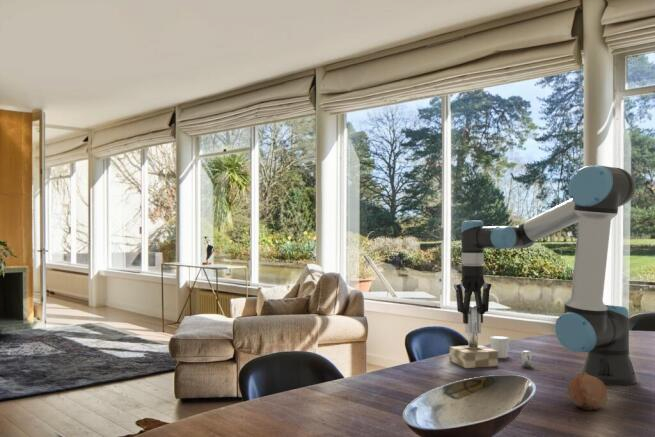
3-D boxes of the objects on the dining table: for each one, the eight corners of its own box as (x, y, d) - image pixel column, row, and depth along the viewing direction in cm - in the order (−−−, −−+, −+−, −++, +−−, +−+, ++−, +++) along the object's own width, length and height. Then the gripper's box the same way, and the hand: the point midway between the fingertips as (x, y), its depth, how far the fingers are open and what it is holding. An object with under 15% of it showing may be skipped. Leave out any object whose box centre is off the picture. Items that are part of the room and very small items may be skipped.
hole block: (497, 365, 210) (497, 351, 210) (465, 368, 207) (465, 353, 207) (480, 358, 221) (480, 344, 221) (449, 360, 218) (449, 346, 218)
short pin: (533, 366, 208) (533, 352, 208) (524, 367, 207) (524, 352, 207) (527, 364, 211) (527, 350, 211) (519, 365, 210) (519, 350, 210)
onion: (579, 415, 163) (574, 377, 168) (616, 412, 157) (609, 373, 162) (564, 409, 157) (559, 370, 162) (602, 405, 151) (595, 365, 156)
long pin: (479, 347, 213) (479, 306, 213) (471, 347, 212) (470, 306, 212) (475, 345, 216) (474, 305, 216) (466, 346, 215) (466, 305, 216)
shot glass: (512, 358, 222) (511, 338, 222) (492, 358, 222) (492, 338, 222) (506, 354, 229) (506, 335, 229) (488, 354, 229) (488, 335, 229)
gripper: (488, 264, 220) (488, 330, 220) (446, 264, 216) (446, 332, 216) (499, 265, 213) (499, 333, 213) (456, 266, 209) (456, 335, 208)
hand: (473, 332), depth 214 cm, fingers closed on long pin, 3 cm apart
